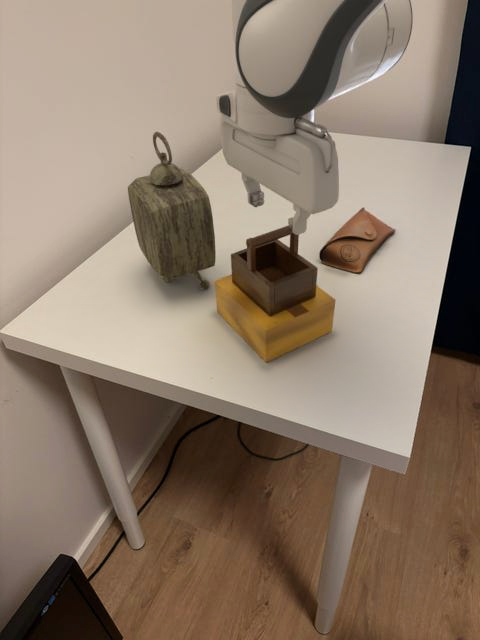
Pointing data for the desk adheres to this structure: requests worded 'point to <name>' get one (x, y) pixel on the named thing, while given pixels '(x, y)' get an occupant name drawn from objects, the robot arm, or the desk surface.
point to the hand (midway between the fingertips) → (275, 217)
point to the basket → (274, 272)
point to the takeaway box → (274, 320)
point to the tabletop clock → (173, 219)
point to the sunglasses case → (355, 242)
